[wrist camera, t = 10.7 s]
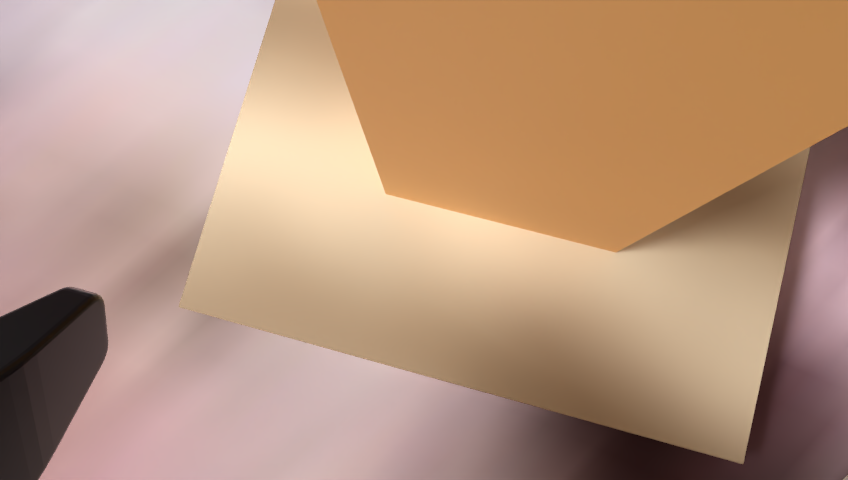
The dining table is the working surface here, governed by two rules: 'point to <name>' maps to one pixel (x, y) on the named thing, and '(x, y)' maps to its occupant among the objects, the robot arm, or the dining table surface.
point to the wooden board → (485, 271)
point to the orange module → (588, 103)
